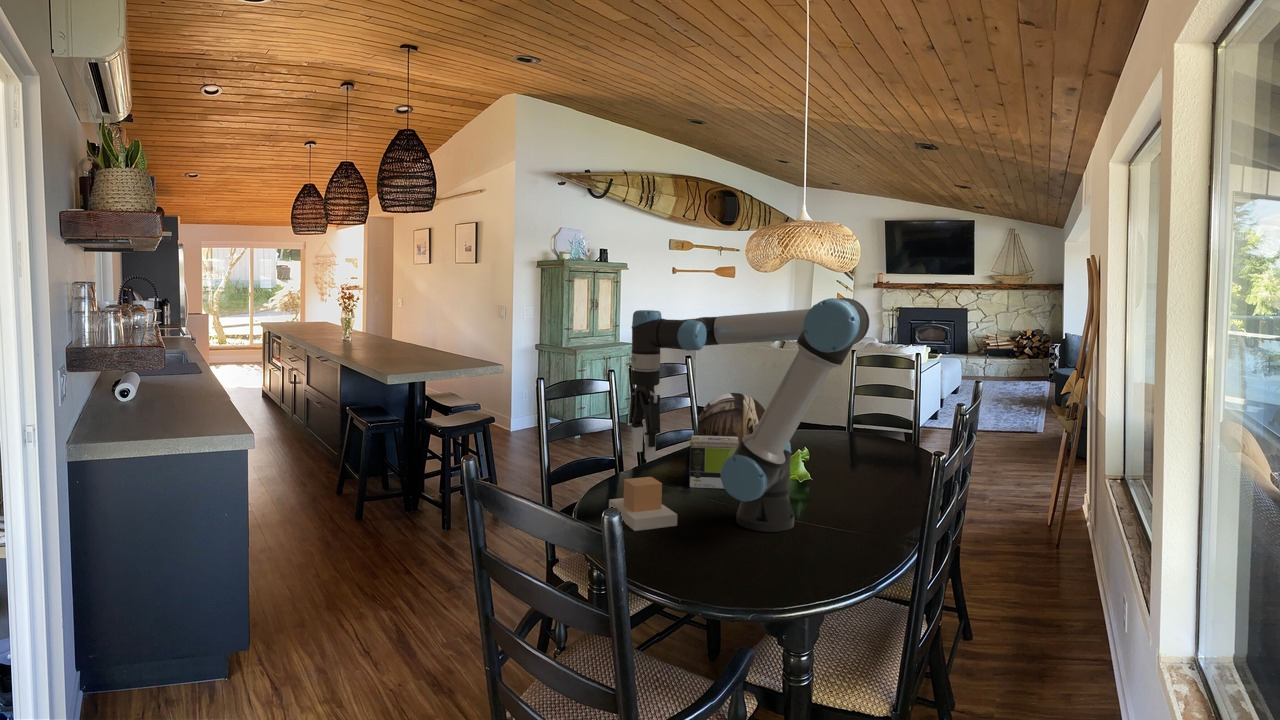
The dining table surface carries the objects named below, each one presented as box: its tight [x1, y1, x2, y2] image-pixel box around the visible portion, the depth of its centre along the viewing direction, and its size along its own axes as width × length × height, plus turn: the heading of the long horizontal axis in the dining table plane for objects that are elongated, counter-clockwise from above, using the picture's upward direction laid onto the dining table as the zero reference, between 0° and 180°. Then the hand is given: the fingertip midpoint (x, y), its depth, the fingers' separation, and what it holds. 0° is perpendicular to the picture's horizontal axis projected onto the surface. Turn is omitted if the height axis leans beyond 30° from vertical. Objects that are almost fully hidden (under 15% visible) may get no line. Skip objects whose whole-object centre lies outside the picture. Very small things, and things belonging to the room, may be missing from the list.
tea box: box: [689, 435, 739, 490], centre depth 237 cm, size 15×10×15 cm, turn 84°
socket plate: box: [608, 497, 678, 532], centre depth 205 cm, size 18×12×3 cm, turn 24°
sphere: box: [696, 392, 766, 443], centre depth 261 cm, size 25×25×25 cm
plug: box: [623, 476, 663, 512], centre depth 204 cm, size 7×8×10 cm
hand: (643, 454), depth 203 cm, fingers open, 8 cm apart
